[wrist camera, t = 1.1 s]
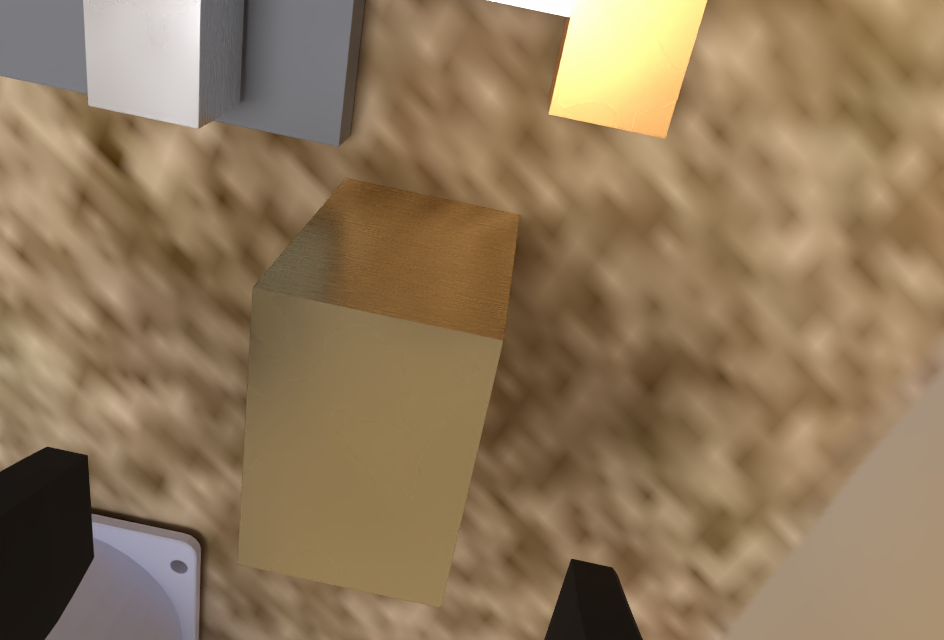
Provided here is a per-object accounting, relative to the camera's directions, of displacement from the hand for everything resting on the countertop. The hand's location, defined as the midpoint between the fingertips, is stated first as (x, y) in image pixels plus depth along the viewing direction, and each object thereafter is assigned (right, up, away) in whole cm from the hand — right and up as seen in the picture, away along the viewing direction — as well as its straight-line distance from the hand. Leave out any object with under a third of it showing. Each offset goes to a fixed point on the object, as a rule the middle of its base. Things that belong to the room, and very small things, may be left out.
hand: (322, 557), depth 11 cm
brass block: (+1, +4, +7) cm, 8 cm away
